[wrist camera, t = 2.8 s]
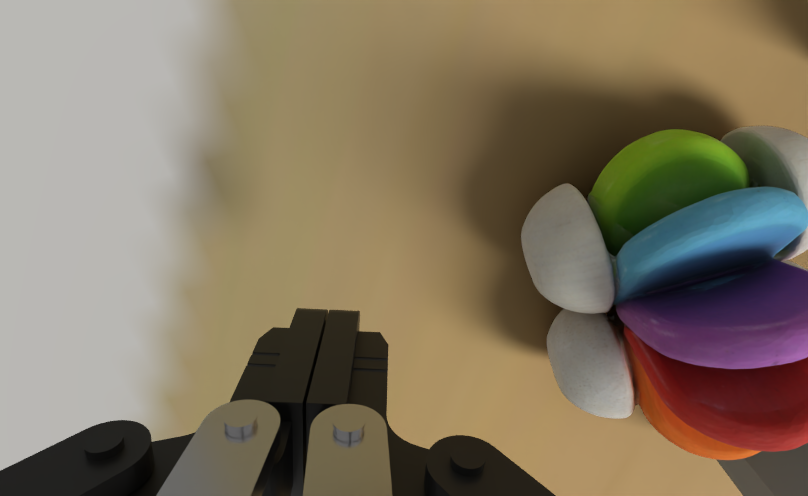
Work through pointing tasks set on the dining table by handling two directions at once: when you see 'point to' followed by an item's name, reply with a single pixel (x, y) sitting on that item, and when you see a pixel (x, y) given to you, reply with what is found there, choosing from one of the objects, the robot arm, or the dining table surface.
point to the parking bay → (771, 473)
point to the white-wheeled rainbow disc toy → (684, 288)
